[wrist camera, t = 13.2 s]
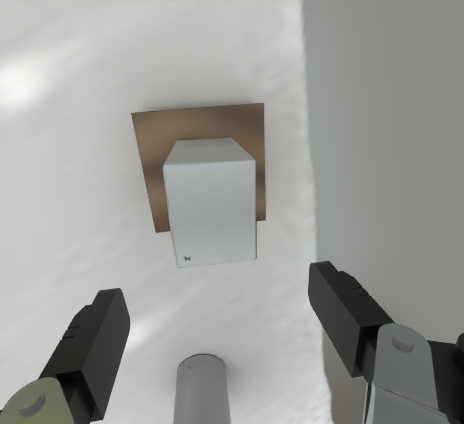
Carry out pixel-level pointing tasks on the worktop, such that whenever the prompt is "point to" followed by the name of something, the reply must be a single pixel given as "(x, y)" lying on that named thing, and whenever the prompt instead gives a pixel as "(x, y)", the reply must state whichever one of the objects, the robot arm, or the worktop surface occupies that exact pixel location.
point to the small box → (211, 201)
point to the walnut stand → (189, 128)
